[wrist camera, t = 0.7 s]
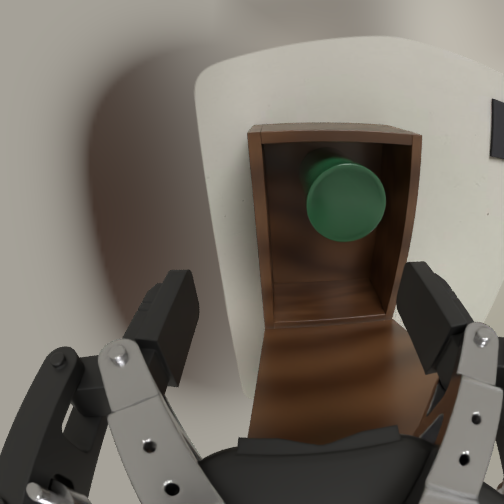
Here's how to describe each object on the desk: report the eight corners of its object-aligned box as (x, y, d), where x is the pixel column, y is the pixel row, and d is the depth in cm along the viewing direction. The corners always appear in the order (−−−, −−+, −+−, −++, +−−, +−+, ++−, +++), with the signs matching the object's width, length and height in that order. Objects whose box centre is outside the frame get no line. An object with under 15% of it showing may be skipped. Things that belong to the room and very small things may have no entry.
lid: (238, 487, 9) (246, 529, 9) (509, 425, 7) (477, 480, 8) (264, 328, 29) (266, 368, 30) (393, 319, 28) (388, 358, 28)
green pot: (294, 145, 27) (305, 164, 19) (355, 145, 26) (388, 164, 18) (297, 204, 30) (306, 244, 22) (354, 202, 29) (381, 240, 21)
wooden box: (253, 125, 27) (247, 132, 20) (387, 125, 25) (422, 135, 18) (266, 285, 37) (265, 329, 30) (373, 279, 35) (391, 319, 28)
